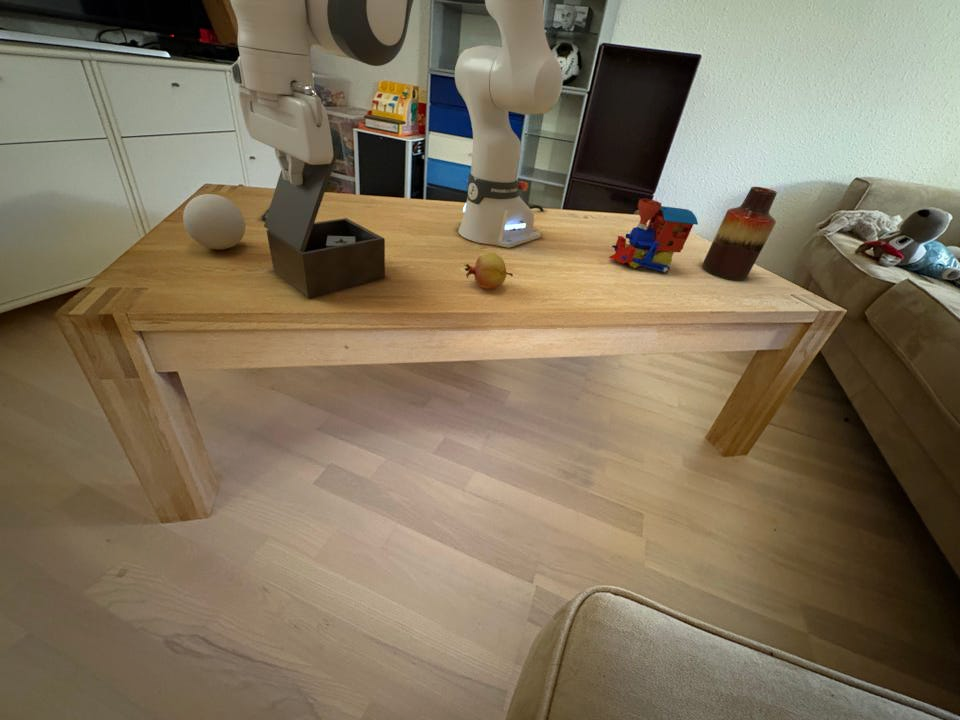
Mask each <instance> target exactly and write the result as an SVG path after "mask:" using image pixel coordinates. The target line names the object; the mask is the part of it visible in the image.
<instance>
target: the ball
mask: <svg viewBox="0 0 960 720" xmlns="http://www.w3.org/2000/svg"><path fill="white" fill-rule="evenodd" d="M182 220H183V225H184V228H185V230H186V232H187V234H188V235H189V236H190V237H191V239H193V240H194V241H195V242H196V243H198V244H199V245H202V246H203V247H205V248H209V249H213V250H226V249H230V248H233V247H235V246H236V245H238V244H239V243H240V242H241V241H242V240H243V238H244V236H245V233H246V220H245V217H244V214H243V213H242V211H241V209H240V208H239V207H238V206H237V205H236V204H235V203H234V202H232V201H231V200H230V199H228V198H226V197H224V196H221V195H218V194H213V193H205V194H200V195H197V196H195V197H193V198H191V200H189V201H188V203H187V204H186V205H185V207H184V210H183V214H182Z"/></svg>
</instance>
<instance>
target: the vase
mask: <svg viewBox="0 0 960 720" xmlns="http://www.w3.org/2000/svg"><path fill="white" fill-rule="evenodd" d="M777 195H778V192H777V191H776V190H774V189H771V188H768V187H767V188H766V187H763V186H762V187H761V186H751V188H750V189H749V191H748V193H747V194H746V196H745V198H744V199H743V201H742V204H740V206H735V207H730V208H728V209H727V210H726V212H725V215H724V216H723V219H722V221H721V223H720V225H719V228H718V230H717V231H716V233H715V236H714V238H713V240H712V242H711V245H710V246H709V249H708V251H707V254H706V255H705V258H704V260H703V262H702V265H701V267H702V269H703V270H705V271H706V272H707V273H709V274H711V275H713V276H715V277H719V278H721V279H725V280H729V281H735V282H736V281H737V282H738V281H745V280H747V278H748V277H749V274H750V272H751V271H752V269H753V267H754V266H755V263H756V262H757V260H758V257H759V255H760V254H761V252H762V250H763V248H764V246H765V244H766V243H767V241H768V238H769V237H770V235H771V233H772V232H773V229H774V227H775V226H776V224H777V220H776V218H775V217H774V216H773V215H772V214H770V211H771V209H772V206H773V203H774V202H775V200H776V197H777Z"/></svg>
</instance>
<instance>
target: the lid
mask: <svg viewBox="0 0 960 720" xmlns="http://www.w3.org/2000/svg"><path fill="white" fill-rule="evenodd" d="M332 146H333V159H332V161H331V163H330V164H319V165H311V164H308V163H306V162H305V164H304V167H303V171H302V178H303V183H302V184H301V185H293V184H291V183H289V182H287V181H285V180H284V179H283V174H282V169H281V170H280V172H279V176H278V180H277V183H276V185H275V189H274V192H273V195H272V199H271V202H270V205H269V208H268V209H269V211H268V214H267V218H266V220H264V224H263V228H265V229H266V230H270V231H271V232H273V233H274V234H276V235H277V236H279V237H280V238H282V239H283V240H284V241H286V242H287V243H289V244H290V245H292V246H293V247H295V248H296V249H298V250H299V251H301V252H304V251H305V248H306V245H307V243H308V240H309V237H310V234H311V231H312V228H313V225H314V223H316V219H317V216H318V213H319V210H320V207H321V204H322V202H323V199H324V195H325V192H326V190H327V187H328V184H329V181H330V178H331V175H332V171H333V169H334V166H335V163H336V160H337V157H338V154H339V152H340V148H338V147H337V146H335V145H332Z"/></svg>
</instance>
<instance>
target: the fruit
mask: <svg viewBox="0 0 960 720" xmlns="http://www.w3.org/2000/svg"><path fill="white" fill-rule="evenodd" d="M463 265H464V266H465V268H464V270H465V271H466V274H465V277H466V278H467V279H468V278H469V277H470V275H474V281H475V283H476V284H477V285H478V286H479V287H480V288H483V289H488V290H491V289H496V288H498V287H500V286H502V285H503V283H504V282H505V281H506V278H507V275H509V276H511V277H514V273H512V272H507V269H506V268H507V267H506V263H505V260H504V259H503V258H502V257H501V256H500V255H498V254H497V253H495V252H484V253H481V254H480V255H479V256H478V257H477V259H476V261H475V265H473V266H471V265H470V264H469V263H467V264H463Z"/></svg>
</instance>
